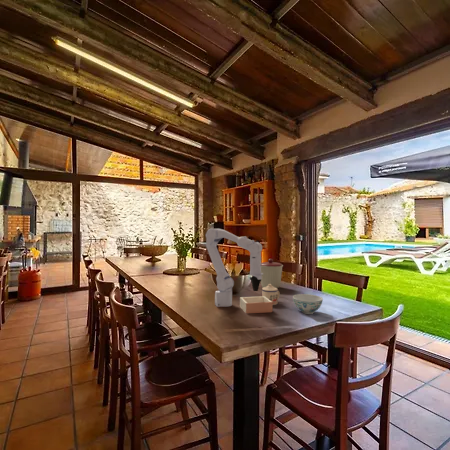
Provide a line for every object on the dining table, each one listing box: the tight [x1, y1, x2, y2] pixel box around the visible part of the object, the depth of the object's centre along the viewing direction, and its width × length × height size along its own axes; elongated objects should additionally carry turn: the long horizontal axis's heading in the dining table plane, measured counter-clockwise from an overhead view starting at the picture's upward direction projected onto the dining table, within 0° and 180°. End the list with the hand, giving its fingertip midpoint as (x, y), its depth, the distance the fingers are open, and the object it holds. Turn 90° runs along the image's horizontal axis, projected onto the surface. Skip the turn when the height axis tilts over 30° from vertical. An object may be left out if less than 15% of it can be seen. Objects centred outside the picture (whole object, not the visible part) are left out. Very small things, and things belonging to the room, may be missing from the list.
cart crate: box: [239, 295, 272, 314], centre depth 151 cm, size 14×12×6 cm
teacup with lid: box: [261, 284, 281, 306], centre depth 165 cm, size 12×9×12 cm
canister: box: [260, 258, 284, 289], centre depth 210 cm, size 18×18×21 cm
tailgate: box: [245, 302, 273, 314], centre depth 145 cm, size 14×1×5 cm, turn 101°
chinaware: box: [292, 293, 324, 315], centre depth 150 cm, size 15×15×8 cm
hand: (255, 290), depth 152 cm, fingers closed
